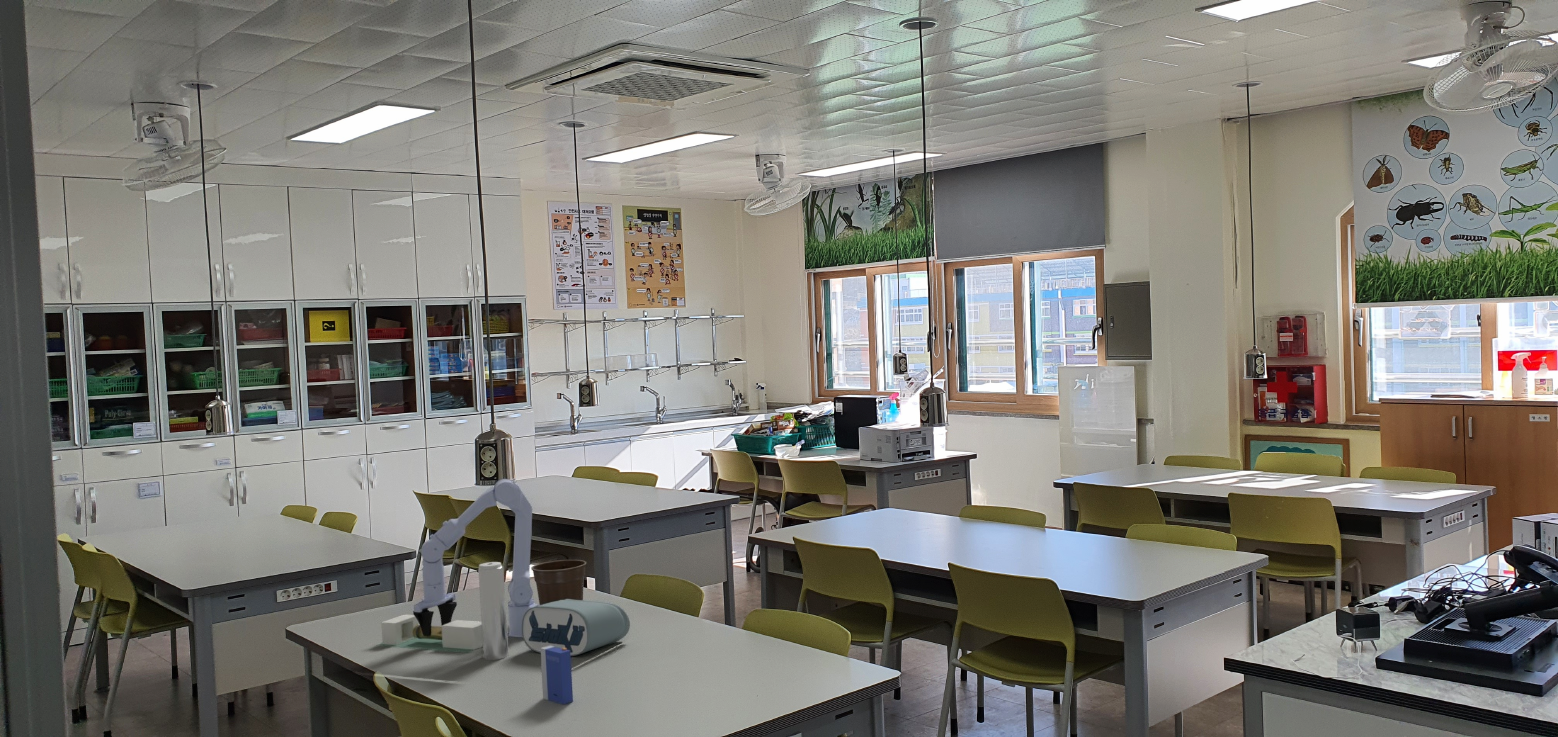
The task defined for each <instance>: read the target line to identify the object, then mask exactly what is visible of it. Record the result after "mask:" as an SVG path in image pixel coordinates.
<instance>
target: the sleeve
mask: <svg viewBox="0 0 1558 737" xmlns="http://www.w3.org/2000/svg"><path fill="white" fill-rule="evenodd" d="M441 627H442V642H443V647H447V648H460V649H473V650H474V651H476V650H478V649H481V648H483V647H482V646H483V640H482V623H481V620H480V621H479V620H477V621H476V620H461V619H455V620H453V621H451V622H450V623H447V624H445V625H441ZM480 647H481V648H480ZM477 648H478V649H477ZM475 649H476V650H475Z"/></svg>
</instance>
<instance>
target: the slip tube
mask: <svg viewBox="0 0 1558 737" xmlns="http://www.w3.org/2000/svg"><path fill="white" fill-rule="evenodd" d="M413 636H414V638H418V639H433V640H442V626H437V625H431V636H423V633H422V630H421V627H420V624H419V625H416V626H415V627H414V629H413Z"/></svg>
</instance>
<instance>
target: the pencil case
mask: <svg viewBox="0 0 1558 737" xmlns="http://www.w3.org/2000/svg"><path fill="white" fill-rule="evenodd" d="M539 605H540V604H539ZM630 626H631V622H630V617H629V615H628V614H627V612H626V611H625V610H624V609H623V608H622V607H621V606H620V605H618V604H616V603H613V602H608V601H601V600H600V601H599V600H583V601H582V600H572V599H565V600H560V601H555V602H551V603H547V604H543V605H540V606H536V607H533V608H530V609H528V610H527V611H526V612H525V614H524V616H523V619H522V636H523V637H522V640H523V642H524V644H525V645H526V647H528V648H529V649H530V650H532V651H533V652H536V653H539V654H541V648H542V647H547V646H554V647H558V648H567V650H570V655H571V657H573V656H574V657H575V656H578V655H581V654H585V653H586V652H589V651H592V650H595V649H599V648H602V647H604V646H607V645H611V644H615V643H617V642H619V641H621V640H622V639H624V638H625V636H626V635H627V634H628V633H629V631H630Z"/></svg>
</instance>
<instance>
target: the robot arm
mask: <svg viewBox="0 0 1558 737" xmlns="http://www.w3.org/2000/svg"><path fill="white" fill-rule="evenodd" d="M497 502H498V503H499V504H501V505H502V506H506V507H508V508H509V509H510V510H511V511H512V512H513V514H515V518H514V519H515V520H514V538H513V539H514V540H513V558H512V559H513V562H512V574H511V580H510V582H509V584H508V585H507V591H508V594H509V598H510V600H508V602H507V610H508V625H509V626H508V627H509V629H508V630H509V632H507V637H514V638H515V637H517V638H523V636H522V619H523V616H524V614H525V612H526V611H527V610H528V609H530V608H533V607H536V606H540V604H537V603H535V599H534V598H533V595H534V594H533V593H534V591H533V589H532V586H531V576H530V575H531V574H530V573H531V572H530V568H531V567H530V565H531V545H532V524H533V522H532V521H533V508H532V507H533V506H532V504H531V503H530V502H529V500H528V498H527V497H526V495H525V494H524V492H523V491H522V489H521V488H520V486H519V485H518V484H516V483H515V482H514V481H513V480H511V479H509V478H503V479H502V478H501V479H499V480H497V482H495V484H494V485H492V486H490V487H489V488H487V489H486V490H485V491H484V492H482V494H480V495H479V496H478V498H476V500H475V501H474V502H473V503H471V505H470V506H468V508H466V510H464V511H463V512H462V514H461V515H459V516H458V518H450V519H448V521H447V520H445V521H444V522H442V526H441V527H440V528H439V529H438V530H437V531H436V532H435V533H434V534H433V533H432V534H431V535H430V536H429V538H430V539H427V540H426V541H424V543H423V544H422V546H421V550H420V555H421V558H422V568H421V569H422V570H421V572H422V585H423V586H422V587H423V598H421V601H420V602H418V603H416V604H413V611H412V612H413V613H412V615H414V616H415V617H416V619H417V620H418V622H419V625H420V627H421V630H422V633H423V636H431V626H432V624H433V623H432V622H433V616H434V613H435V612H434V611H431V610H429V609H432V608H434V607H437V609H438V612H439V616H440V624H441V626H442V625H445V624H447V623H450V622H452V618H453V615H454V612H455V609H456V607H457V605H458V603H457V601H456V593H455V592H448V593H446V583H445V582H446V579H445V566H444V563H443V556H444V553H445V551H448V550H450V549H451V547H452V546H454V545H455V543H457V541H458V540H460V539H461V538H462V537H463V536H464V535H465V534H466V527H467V526H468V525H469V524H471V523H472V521H473V520H475V519H476V518H477V517H478V516H479V515H480V514H481V513H482V512H484V511H485V510H486V509H487V508H492V507H496V506H498V504H497Z"/></svg>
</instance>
